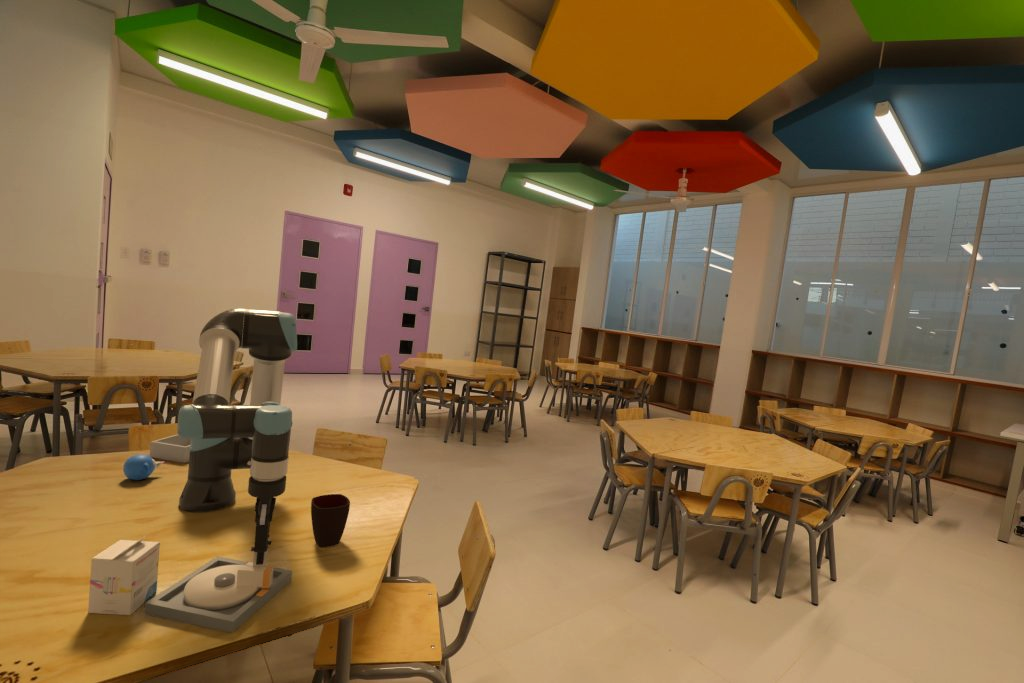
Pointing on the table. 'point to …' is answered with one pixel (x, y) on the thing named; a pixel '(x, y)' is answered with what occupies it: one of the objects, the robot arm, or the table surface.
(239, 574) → the dial
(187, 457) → the tray
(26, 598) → the table surface
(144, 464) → the blue mole toy
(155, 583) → the ink box
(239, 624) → the dial plate
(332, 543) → the cup
